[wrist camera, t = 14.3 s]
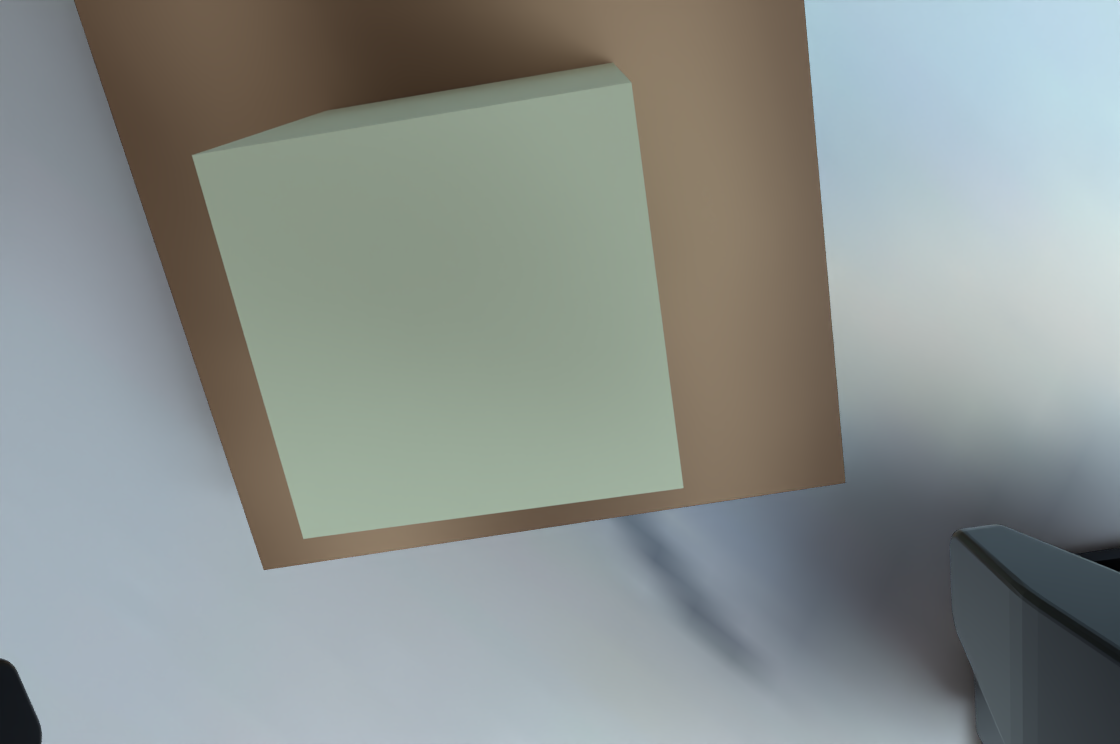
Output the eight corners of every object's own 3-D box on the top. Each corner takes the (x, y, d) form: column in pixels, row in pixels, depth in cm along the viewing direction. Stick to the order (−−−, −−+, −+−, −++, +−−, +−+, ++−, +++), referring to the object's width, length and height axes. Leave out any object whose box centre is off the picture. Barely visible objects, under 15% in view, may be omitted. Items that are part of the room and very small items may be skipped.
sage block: (612, 62, 16) (631, 83, 10) (650, 339, 18) (683, 488, 12) (326, 110, 16) (192, 155, 11) (390, 377, 18) (303, 539, 12)
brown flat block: (744, -156, 18) (786, -205, 14) (800, 406, 22) (845, 483, 18) (159, -36, 19) (57, -51, 15) (315, 482, 23) (263, 570, 19)
